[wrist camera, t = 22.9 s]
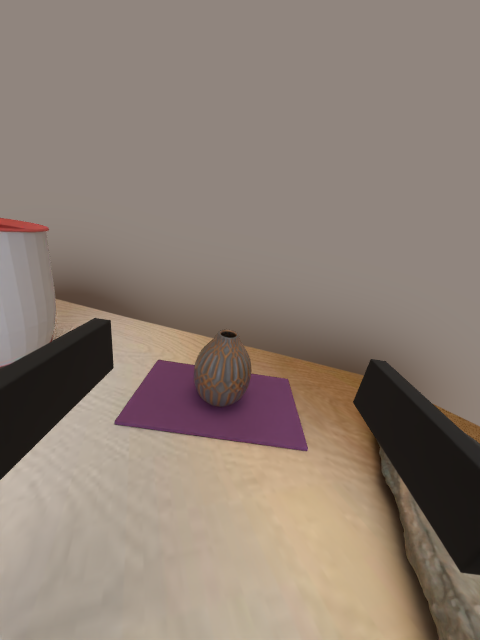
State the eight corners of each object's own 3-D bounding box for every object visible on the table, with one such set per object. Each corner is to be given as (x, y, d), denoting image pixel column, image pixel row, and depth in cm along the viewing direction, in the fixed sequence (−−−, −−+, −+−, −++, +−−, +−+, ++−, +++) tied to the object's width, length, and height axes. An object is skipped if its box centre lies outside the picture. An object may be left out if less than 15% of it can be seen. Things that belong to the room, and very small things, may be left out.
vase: (229, 426, 24) (242, 356, 21) (179, 399, 27) (184, 333, 24) (254, 392, 30) (266, 333, 27) (211, 372, 33) (218, 317, 30)
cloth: (287, 381, 35) (287, 379, 34) (307, 451, 23) (308, 448, 23) (158, 361, 34) (158, 359, 34) (114, 424, 23) (114, 421, 23)
